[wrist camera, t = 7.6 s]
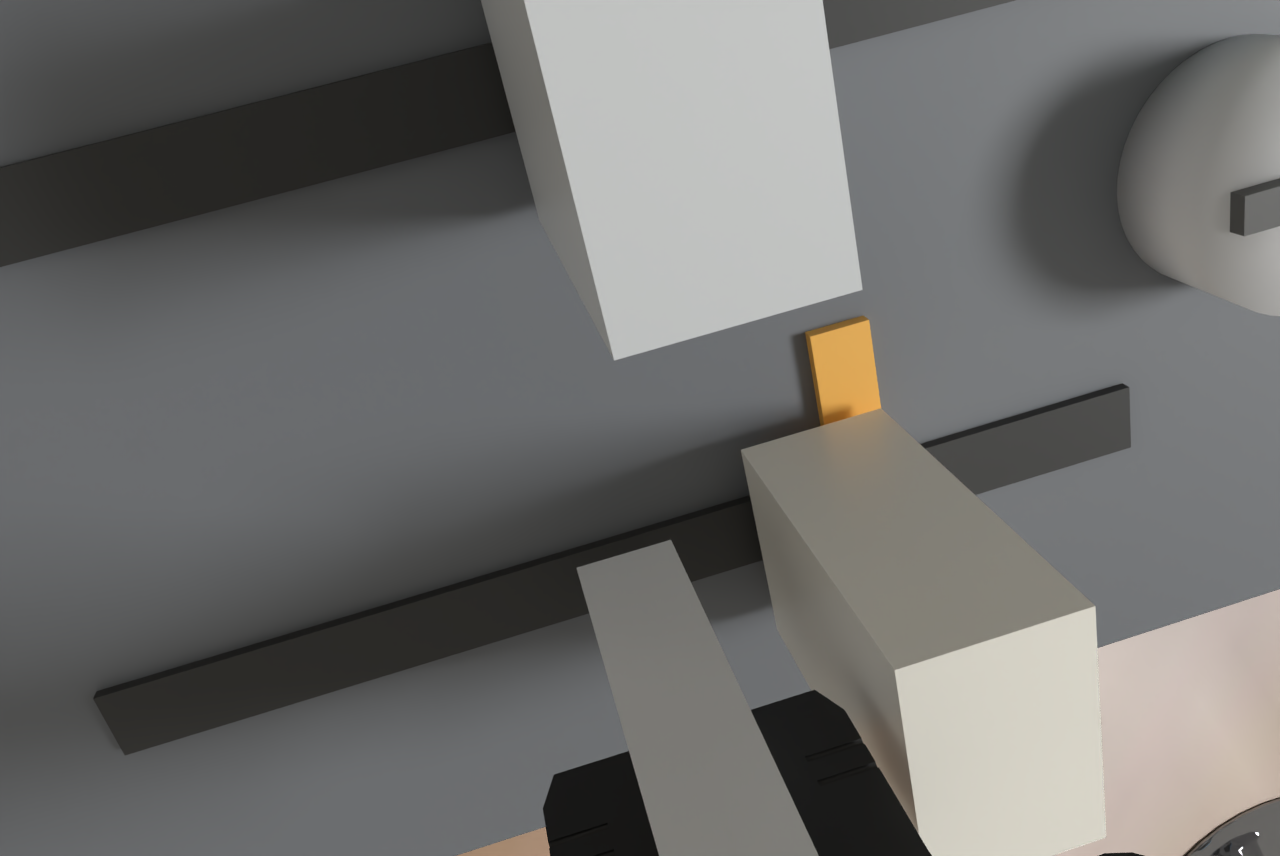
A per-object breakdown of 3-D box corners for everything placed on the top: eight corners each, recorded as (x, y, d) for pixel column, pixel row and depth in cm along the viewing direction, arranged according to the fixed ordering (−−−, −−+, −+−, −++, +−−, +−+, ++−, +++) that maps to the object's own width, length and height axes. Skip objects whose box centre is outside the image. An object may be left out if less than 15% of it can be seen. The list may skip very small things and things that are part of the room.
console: (-524, -97, 14) (-898, -124, 10) (1267, -496, 16) (1548, -648, 12) (92, 896, 21) (22, 1104, 17) (1242, 531, 23) (1408, 643, 20)
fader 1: (467, -53, 14) (506, -67, 8) (647, -97, 14) (803, -140, 8) (539, 220, 15) (614, 360, 10) (701, 176, 15) (862, 289, 10)
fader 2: (740, 449, 17) (894, 669, 12) (881, 408, 17) (1095, 606, 12) (777, 629, 19) (928, 897, 13) (905, 589, 19) (1105, 837, 14)
